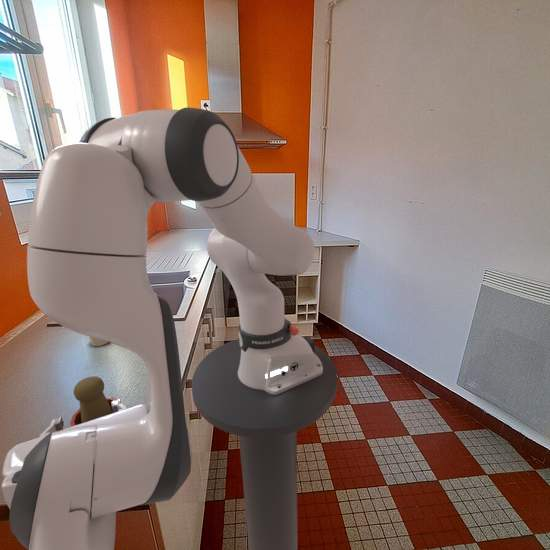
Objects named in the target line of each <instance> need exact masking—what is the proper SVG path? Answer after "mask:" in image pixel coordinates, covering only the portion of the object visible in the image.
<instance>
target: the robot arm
mask: <svg viewBox="0 0 550 550" xmlns="http://www.w3.org/2000/svg"><path fill="white" fill-rule="evenodd" d="M235 137H236V136H235V135H234V133H233V131H232V129H231V128H230V126H229V125H228V124H227V123H226V122H225V121H224V120H223V119H222V117H220V115H218V114H217V113H215V112H214V111H210V110H207V109H205V108H198V107H190V106H189V107H188V106H187V107H183V108H180V109H170V108H164V109H158V108H157V109H147V110H141V111H138V112H135V113H131V114H127V115H122V116H119V117H106V118H104V119H101V120H99V121H97V122H94V124H92V125H91V126H89V127H88V128H87V129H86V130H85V131H84V132H83V134H82V135H81V137H80V139H79V141H78V142H77V143H75V142H74V143H67V144H63V145H60V146H56V147H55V148H54V149H52V150H51V151H49V152H48V154H47V155H46V156H45V158H44V160H43V162H42V165H41V168H40V172H39V175H38V178H37V183H36V186H35V190H34V194H33V199H32V204H31V210H30V217H29V225H28V237H27V249H26V251H27V252H26V270H27V271H26V273H27V275H26V276H27V284H28V290H29V296H30V298H31V299H32V301H33V303H34V304H35V305H36V307H37V308H38V309H39V310H40V311H41V313H43V314H44V315H45V316H46V317H48V318H49V319H50V320H51V321H53V322H55V323H56V324H58V325H59V326H62V327H64V328H65V329H67V330H70V331H72V332H74V333H77V334H80V335H83V336H85V337H89V336H90V337H93V338H97V339H101V340H104V341H107V342H108V343H111V344H113V345H117V346H119V347H123V348H125V349H127V350H129V351H130V352H133V353H135V354H136V355H137V356H139V357H140V358H141V359H142V361H143V362H144V365H145V370H146V371H145V372H146V380H147V387H148V397H149V405H150V408H149V406H148V405H146V404H145V403H139V404H137V405H134V406H131V407H127V406H126V405H124V404H123V403H122V400H121V398H117V399H118V400H115V401H112V409H113V413H112V414H109V415H106V416H103V417H100V418H97V419H94V420H91V421H88V422H85V423H82V424H79V425H76V426H73V427H71V426H70V427H67V428H64V426H65V422H64V420H63V417H62V416H60V417H57V418H53V419H51V421H50V423H49V424H50V425H49V426H47V428H46V429H44V431H42V432H41V433H40V434H39V437H36V438H32V439H30V440H27V441H24V442H21V443H18V444H16V445H14V446H13V447H12V448H11V449H10V450H8V451H7V454H6V456H5V458H4V461H3V465H2V466H3V467H2V471H1V472H2V476H3V477H2V478H3V480H2V482H1V492H2V496H3V499H4V501H5V503H6V505H7V507H8V509H9V515H8V516H9V517H8V518H9V519H8V521H9V522H8V523H9V528H10V531H11V533H12V534H13V535H14V537H15V538H16V539H17V541H18V543H20V545H21V546H23V547H24V548H25V549H27V550H115V545H116V544H115V543H116V527H117V512H119V511H123V510H126V509H129V508H133V507H137V506H145V505H151V504H152V505H153V504H156V503H163V502H168V501H170V500H172V499H173V497H175V495H176V494H177V493H178V491H179V490H180V489H181V488H182V486H183V485H184V483H186V481H187V479H188V477H189V475H190V474H191V471H192V470H191V469H192V463H193V447H192V441H191V436H190V433H189V430H188V426H187V425H188V424H187V419H186V411H185V409H186V408H185V401H184V400H185V399H184V391H183V381H182V372H181V371H182V370H181V369H182V368H181V360H180V353H179V345H178V336H177V329H176V324H175V319H174V314H173V312H172V311H173V310H172V309H171V306H170V304H169V302H168V300H167V299H166V298H164V297H161V296H160V295H158V294H156V292H155V290H154V289H153V286H152V284H151V282H150V279H149V275H148V267H147V254H148V252H147V251H148V215H149V213H150V210H151V208H152V207H153V205H154V204H155V203H166V202H186V201H193V202H196V203H197V205H198V206H199V208H200V209H201V211H202V212H203V213H204V215H205V216H206V218H207V219H208V221H209V222H210V223H211V225H212V226H213V227H214V228H213V229H212V230H211V232H210V234H209V236H208V238H207V241H206V251H207V255H208V257H209V259H210V261H211V263H212V264H214V265H215V266H217V267H218V268H219V269H220V270H221V272H222V273H223V274H224V275H225V276H226V278H227V279H228V281H229V283H230V285H231V286H232V288H233V291H234V294H235V296H236V300H237V306H238V314H239V315H238V316H239V322H240V323H239V324H238V339H239V342H240V346H241V358H240V365H239V369H238V378H239V380H240V381H241V382H242V383H243V384H244V385H246V386H248V387H250V388H253V389H259V390H264V391H266V392H268V393H270V394H273V395H277V394H280V393H282V392H284V391H287V390H289V389H291V388H293V387H296V386H298V385H300V384H302V383H305V382H307V381H309V380H311V379H314V378H316V377H318V376H320V375H322V374H323V366H322V363H321V361H320V359H319V358H318V357H317V355H316V354H315V353H314V352H315V346H316V342H315V341H314V340H312V339H311V337H309V336H307V335H305V336H301V335H300V334H299V332H300V331H299V328H298V327H297V326H296V325H293V324H292V322H291V321H290V320H288V319H287V318H286V317H285V297H284V294H283V292H282V291H281V289H280V288H279V287H278V286H277V285H275V284H274V283H272V282H271V281H270V280H269V279H268V278H267V275H271V276H282V277H283V276H284V277H285V276H297V275H303V274H304V273H306V272H307V271H308V270H309V269H310V267H311V266H312V263H313V261H314V259H315V255H316V253H315V252H316V248H315V242H314V240H313V238H312V236H311V235H310V234H309V233H310V232H308V231H307V230H305V229H303V228H301V227H298V226H296V225H294V224H292V223H291V222H289V221H288V220H286V219H285V217H282V216H281V215H280V214H279V213H278V212H277V211H276V210H274V208H272V206H271V205H270V204H269V203H268V202H267V200H266V199H265V197H264V195H263V194H262V191H261V190H260V188H259V185H258V184H257V181H256V179H255V177H254V175H253V173H252V170H251V168H250V166H249V164H248V162H247V160H246V158H245V156H244V154H243V153H242V151H241V149H240V147H239V146H238V144H237V143H238V142H237V140H236V138H235ZM90 337H89V338H90Z"/></svg>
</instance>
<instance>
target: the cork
mask: <svg viewBox="0 0 550 550" xmlns="http://www.w3.org/2000/svg"><path fill="white" fill-rule="evenodd" d="M73 388H74V389H73V395H74V398H75V399H76V400H77V401H78V402H79V409H80V410H81V419H82V423H85V422H88V421H91V420H94V419H97V418H100V417H103V416H106V415H109V414H112V413H113V412H112V410H111V408H110V406H109V404H108V402H107V399H106V397H107V396H106V395H105V393H104V390H105V382H104V380H103V379H102V378H101V377H99V376H97V375H94V376H93V375H91V376H88V377H85V378H83V379H81V380H79V381H78V382H77V383H76V384H75V386H74V387H73Z"/></svg>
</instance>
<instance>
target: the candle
mask: <svg viewBox="0 0 550 550" xmlns="http://www.w3.org/2000/svg"><path fill="white" fill-rule="evenodd" d="M88 337H89V340H90V344H91V346H93V347H100V346H104V345H106V344H108V343H109V342H107V341H104V340H101V339H97V338H93V337H90V336H88Z"/></svg>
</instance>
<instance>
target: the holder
mask: <svg viewBox="0 0 550 550" xmlns="http://www.w3.org/2000/svg"><path fill="white" fill-rule="evenodd" d="M105 397H106V399H107V402H108V404H109V406H110V408H111V410H112V412H113V409H112V401H115V400H118V399H119V398H116V397H114V396H105ZM69 424H70V427H73V426H76V425H79V424H82V419H81V410H80V408H78V409H77V410H76V412H74V413H73V415H72V416H71V419H70V423H69Z"/></svg>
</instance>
